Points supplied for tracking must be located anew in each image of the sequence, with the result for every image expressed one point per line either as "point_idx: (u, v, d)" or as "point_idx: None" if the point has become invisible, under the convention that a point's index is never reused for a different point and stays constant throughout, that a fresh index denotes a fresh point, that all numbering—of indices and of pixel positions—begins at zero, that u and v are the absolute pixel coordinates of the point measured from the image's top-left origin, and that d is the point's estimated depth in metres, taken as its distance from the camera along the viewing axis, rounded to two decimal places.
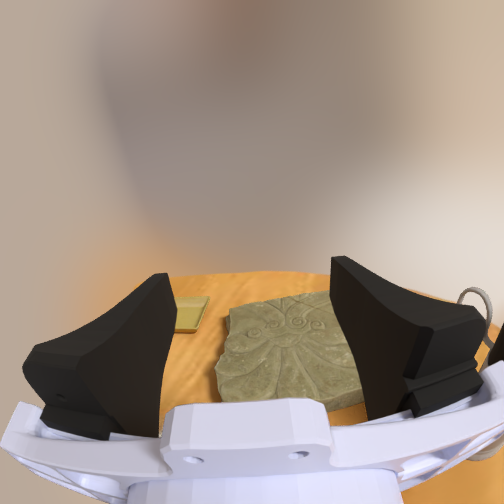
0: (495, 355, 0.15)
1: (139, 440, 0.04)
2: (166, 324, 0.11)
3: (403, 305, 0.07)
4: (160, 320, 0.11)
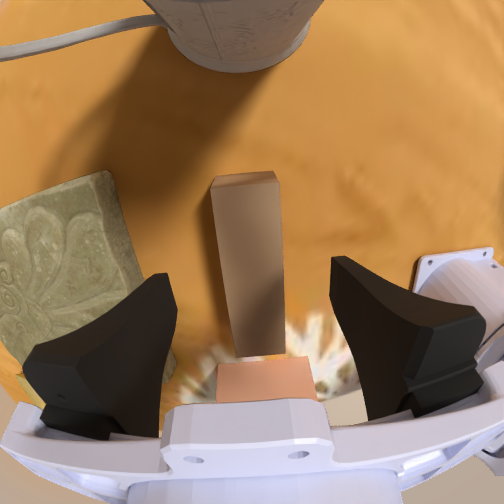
0: None
1: (139, 440, 0.04)
2: (166, 324, 0.11)
3: (403, 305, 0.07)
4: (160, 320, 0.11)
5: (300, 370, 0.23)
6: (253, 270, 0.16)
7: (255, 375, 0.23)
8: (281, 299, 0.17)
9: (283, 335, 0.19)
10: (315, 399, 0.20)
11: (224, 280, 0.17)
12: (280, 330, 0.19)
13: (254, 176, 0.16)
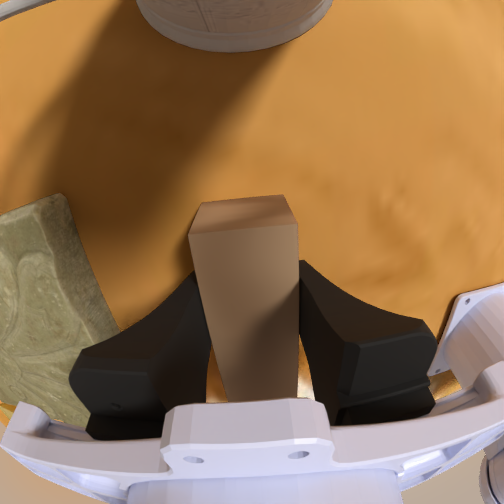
0: None
1: (139, 440, 0.04)
2: None
3: (344, 315, 0.07)
4: (204, 318, 0.11)
5: None
6: (257, 342, 0.11)
7: None
8: (294, 372, 0.12)
9: None
10: None
11: (216, 354, 0.12)
12: None
13: (257, 208, 0.11)
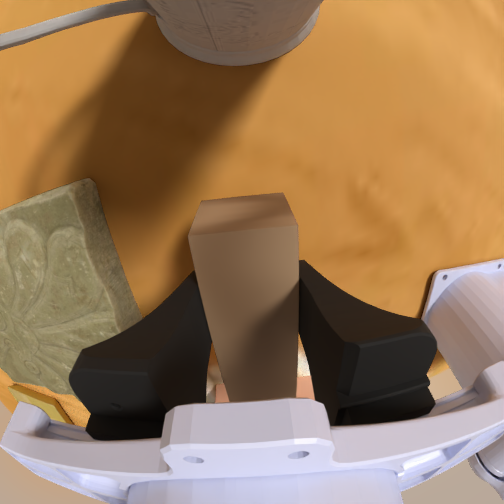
0: None
1: (139, 440, 0.04)
2: None
3: (344, 315, 0.07)
4: (204, 318, 0.11)
5: (304, 391, 0.21)
6: (257, 341, 0.11)
7: None
8: (293, 369, 0.12)
9: None
10: None
11: (217, 352, 0.12)
12: None
13: (257, 207, 0.11)
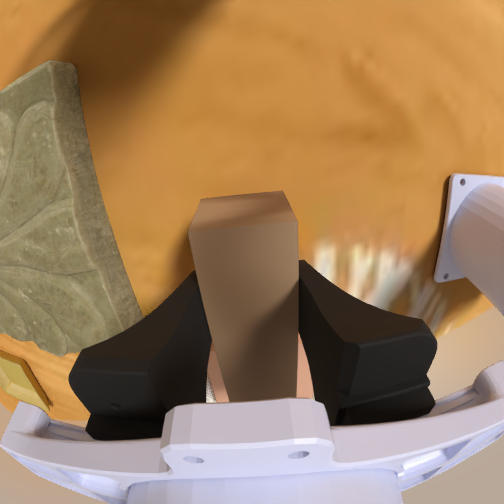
0: None
1: (139, 440, 0.04)
2: None
3: (344, 315, 0.07)
4: (204, 318, 0.11)
5: (304, 358, 0.19)
6: (257, 339, 0.11)
7: None
8: (293, 368, 0.12)
9: None
10: None
11: (216, 350, 0.12)
12: None
13: (257, 204, 0.11)
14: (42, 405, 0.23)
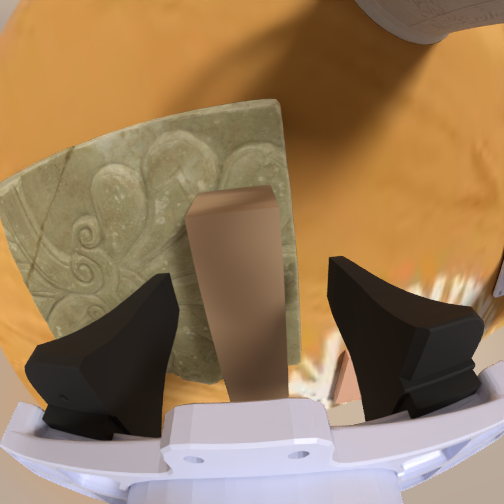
0: None
1: (139, 440, 0.04)
2: (168, 324, 0.11)
3: (400, 305, 0.07)
4: (162, 320, 0.11)
5: None
6: (247, 317, 0.13)
7: None
8: (283, 348, 0.14)
9: (286, 383, 0.15)
10: None
11: (211, 329, 0.13)
12: (282, 378, 0.15)
13: (246, 195, 0.12)
14: None
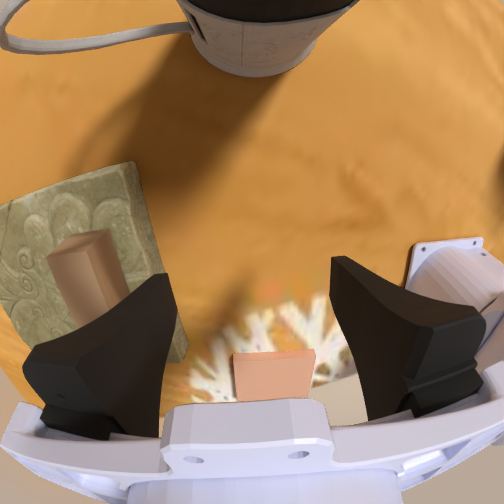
0: (222, 2, 0.06)
1: (139, 440, 0.04)
2: (166, 324, 0.11)
3: (403, 305, 0.07)
4: (160, 320, 0.11)
5: (305, 367, 0.27)
6: (92, 319, 0.17)
7: (266, 371, 0.27)
8: None
9: None
10: (308, 385, 0.29)
11: (76, 325, 0.17)
12: None
13: (85, 239, 0.16)
14: None
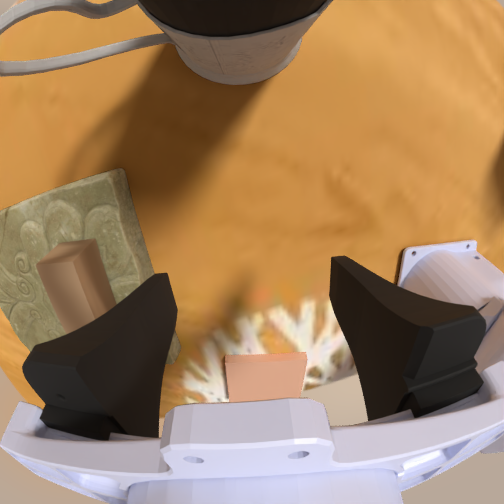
0: (183, 20, 0.06)
1: (139, 440, 0.04)
2: (166, 324, 0.11)
3: (403, 305, 0.07)
4: (160, 320, 0.11)
5: (296, 370, 0.27)
6: (79, 323, 0.17)
7: (258, 373, 0.27)
8: None
9: None
10: (300, 388, 0.29)
11: (64, 328, 0.17)
12: None
13: (72, 249, 0.17)
14: None
